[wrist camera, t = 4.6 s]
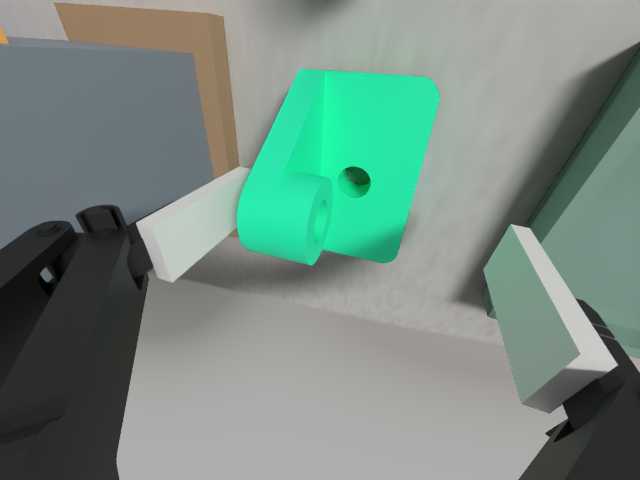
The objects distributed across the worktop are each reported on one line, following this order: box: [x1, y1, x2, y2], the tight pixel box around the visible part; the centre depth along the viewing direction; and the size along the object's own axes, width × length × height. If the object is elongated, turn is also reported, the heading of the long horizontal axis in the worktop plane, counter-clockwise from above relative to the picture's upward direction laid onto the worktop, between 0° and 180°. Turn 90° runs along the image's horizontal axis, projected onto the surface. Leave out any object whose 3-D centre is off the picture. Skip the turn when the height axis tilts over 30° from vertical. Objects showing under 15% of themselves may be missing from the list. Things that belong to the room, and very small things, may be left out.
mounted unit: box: [0, 3, 239, 282], centre depth 15 cm, size 12×16×19 cm
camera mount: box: [237, 69, 439, 265], centre depth 15 cm, size 12×8×10 cm, turn 178°
